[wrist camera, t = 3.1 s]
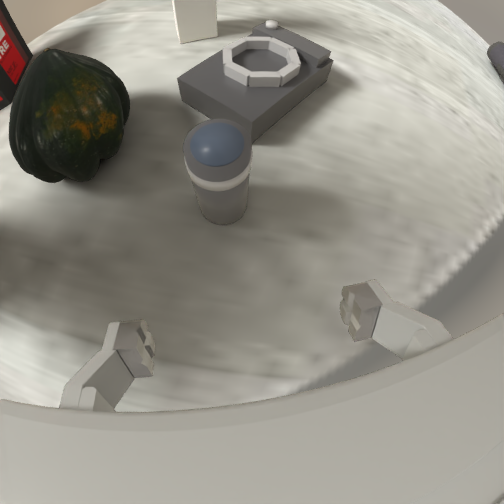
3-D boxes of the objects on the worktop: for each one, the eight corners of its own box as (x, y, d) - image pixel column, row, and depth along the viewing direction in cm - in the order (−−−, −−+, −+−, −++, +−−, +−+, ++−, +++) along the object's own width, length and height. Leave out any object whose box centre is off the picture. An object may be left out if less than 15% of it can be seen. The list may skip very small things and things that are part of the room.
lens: (225, 235, 27) (218, 187, 17) (189, 205, 28) (166, 147, 18) (258, 200, 28) (268, 140, 18) (221, 172, 29) (216, 106, 19)
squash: (30, 225, 21) (43, 65, 12) (-4, 158, 23) (9, 44, 14) (134, 187, 32) (175, 69, 23) (80, 137, 34) (106, 42, 26)
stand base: (250, 145, 30) (253, 106, 23) (181, 100, 31) (174, 63, 25) (326, 80, 33) (337, 47, 27) (263, 47, 34) (267, 14, 28)
